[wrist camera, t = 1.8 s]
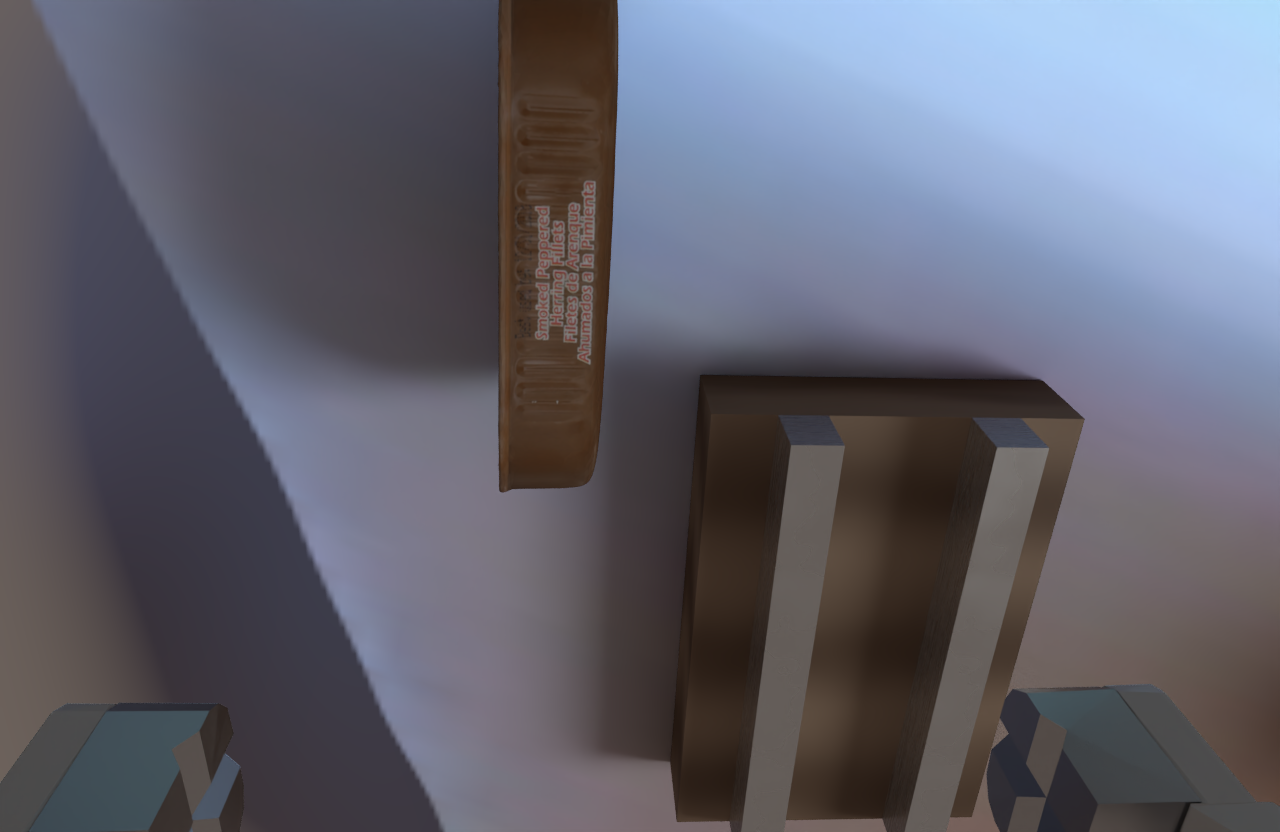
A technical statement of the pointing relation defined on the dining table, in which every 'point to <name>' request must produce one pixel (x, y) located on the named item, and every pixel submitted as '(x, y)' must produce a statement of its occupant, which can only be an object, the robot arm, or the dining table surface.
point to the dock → (858, 592)
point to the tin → (554, 234)
